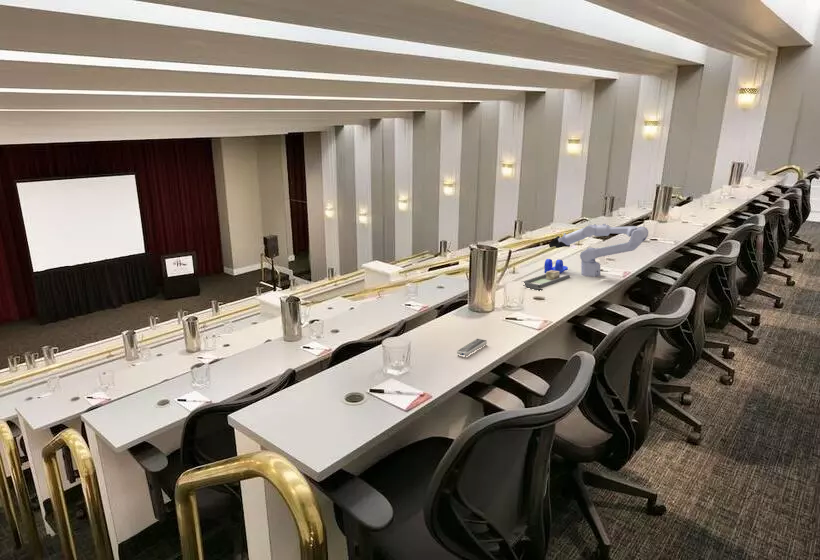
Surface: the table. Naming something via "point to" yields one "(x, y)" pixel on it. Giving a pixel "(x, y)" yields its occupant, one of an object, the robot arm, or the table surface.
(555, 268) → the bracket
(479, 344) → the multiport hub
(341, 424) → the table surface
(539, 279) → the box
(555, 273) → the block
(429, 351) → the table surface
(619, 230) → the robot arm
